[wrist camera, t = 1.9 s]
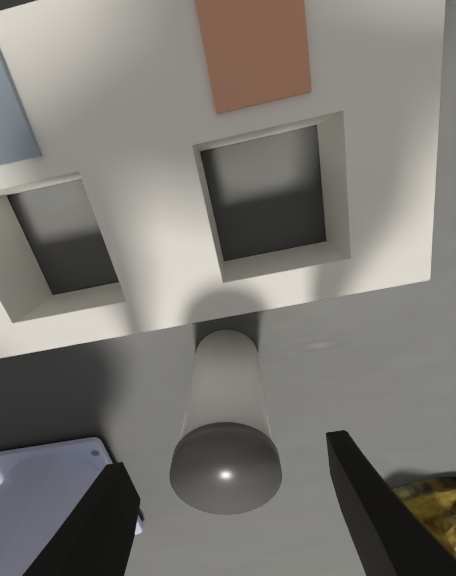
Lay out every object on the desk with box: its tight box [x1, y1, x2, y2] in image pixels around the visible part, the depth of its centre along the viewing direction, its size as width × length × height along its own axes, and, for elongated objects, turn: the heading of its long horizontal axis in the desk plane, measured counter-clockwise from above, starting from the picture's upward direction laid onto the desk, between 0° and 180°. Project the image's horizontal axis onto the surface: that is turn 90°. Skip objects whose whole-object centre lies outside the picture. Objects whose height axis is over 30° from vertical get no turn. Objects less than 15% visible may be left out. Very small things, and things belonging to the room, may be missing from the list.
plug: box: [170, 330, 282, 515], centre depth 13 cm, size 4×4×7 cm
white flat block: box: [0, 0, 445, 358], centre depth 11 cm, size 11×20×3 cm, turn 102°
